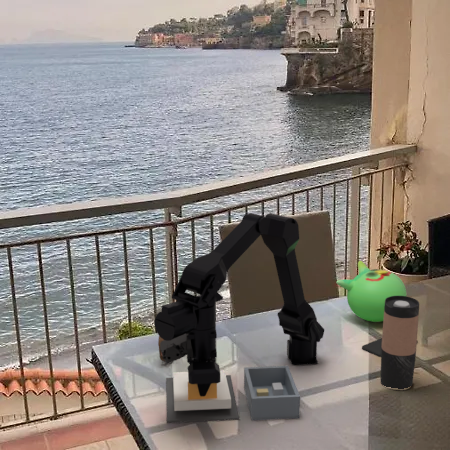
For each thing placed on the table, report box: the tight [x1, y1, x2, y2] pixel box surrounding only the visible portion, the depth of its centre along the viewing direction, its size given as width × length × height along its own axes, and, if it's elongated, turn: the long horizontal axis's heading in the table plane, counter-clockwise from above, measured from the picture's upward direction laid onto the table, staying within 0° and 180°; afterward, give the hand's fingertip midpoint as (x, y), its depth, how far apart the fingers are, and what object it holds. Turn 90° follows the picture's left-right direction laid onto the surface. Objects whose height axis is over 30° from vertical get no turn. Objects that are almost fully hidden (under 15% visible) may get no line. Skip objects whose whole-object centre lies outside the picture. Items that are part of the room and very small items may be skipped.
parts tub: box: [243, 365, 301, 421], centre depth 151 cm, size 10×14×5 cm
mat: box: [165, 374, 240, 424], centre depth 153 cm, size 15×19×1 cm
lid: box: [172, 369, 231, 411], centre depth 152 cm, size 12×16×6 cm
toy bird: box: [336, 260, 407, 323], centre depth 195 cm, size 18×17×15 cm
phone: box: [361, 337, 418, 358], centre depth 180 cm, size 7×1×15 cm
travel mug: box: [380, 295, 420, 389], centre depth 157 cm, size 8×8×20 cm
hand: (202, 394), depth 146 cm, fingers closed on lid
